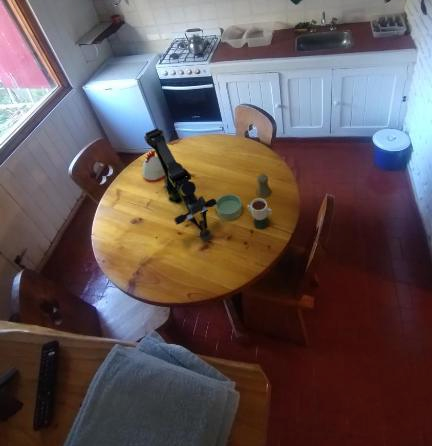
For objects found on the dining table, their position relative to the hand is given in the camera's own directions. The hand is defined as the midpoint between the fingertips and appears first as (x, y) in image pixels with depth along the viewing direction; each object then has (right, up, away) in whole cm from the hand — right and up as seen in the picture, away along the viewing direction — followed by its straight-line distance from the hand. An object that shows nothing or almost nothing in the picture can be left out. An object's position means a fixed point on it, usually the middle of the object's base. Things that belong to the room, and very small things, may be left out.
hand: (204, 229), depth 145 cm
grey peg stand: (0, -4, +5) cm, 7 cm away
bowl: (+11, +5, +20) cm, 23 cm away
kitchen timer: (-29, +19, +49) cm, 60 cm away
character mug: (+25, 0, +11) cm, 27 cm away
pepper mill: (+28, +12, +25) cm, 40 cm away
